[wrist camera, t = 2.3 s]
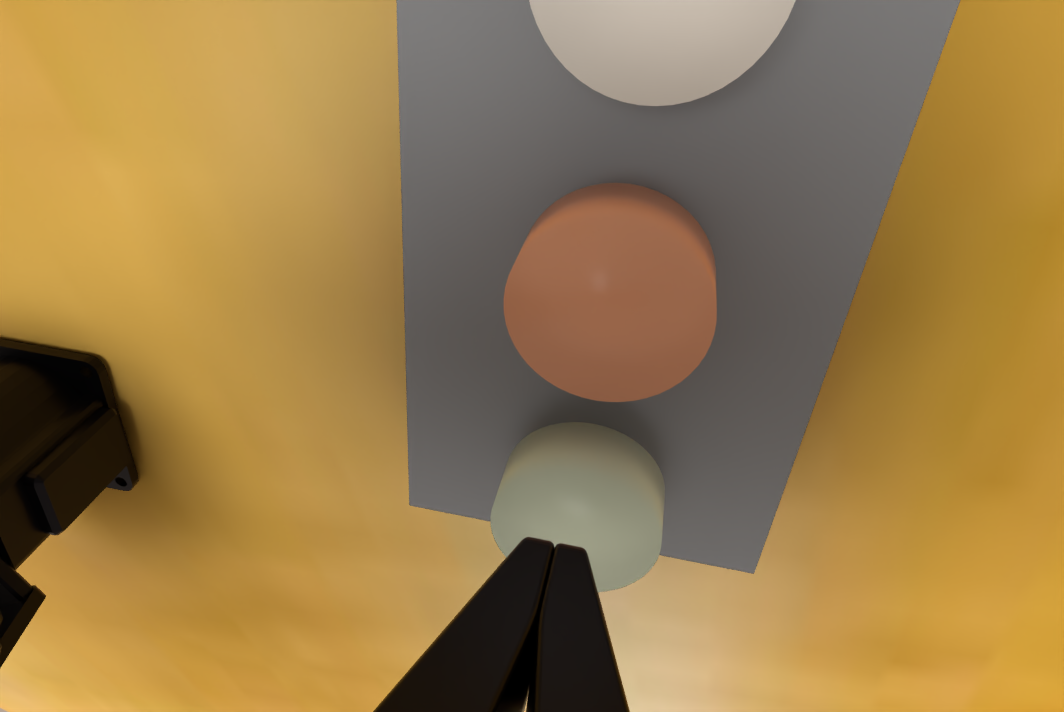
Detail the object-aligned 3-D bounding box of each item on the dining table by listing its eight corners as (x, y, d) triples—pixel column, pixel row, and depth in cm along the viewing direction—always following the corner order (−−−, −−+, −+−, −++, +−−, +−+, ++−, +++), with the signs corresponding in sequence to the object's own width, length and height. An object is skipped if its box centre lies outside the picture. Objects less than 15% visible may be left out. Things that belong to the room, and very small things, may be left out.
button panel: (438, 442, 27) (409, 505, 24) (441, -284, 16) (388, -313, 13) (748, 500, 26) (753, 573, 23) (993, -245, 14) (1057, -269, 12)
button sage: (501, 526, 22) (486, 573, 21) (510, 408, 20) (494, 453, 18) (650, 555, 22) (646, 606, 20) (678, 439, 19) (676, 487, 18)
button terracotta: (515, 341, 18) (498, 383, 17) (527, 169, 16) (509, 200, 15) (694, 371, 18) (693, 417, 16) (735, 198, 15) (739, 233, 14)
